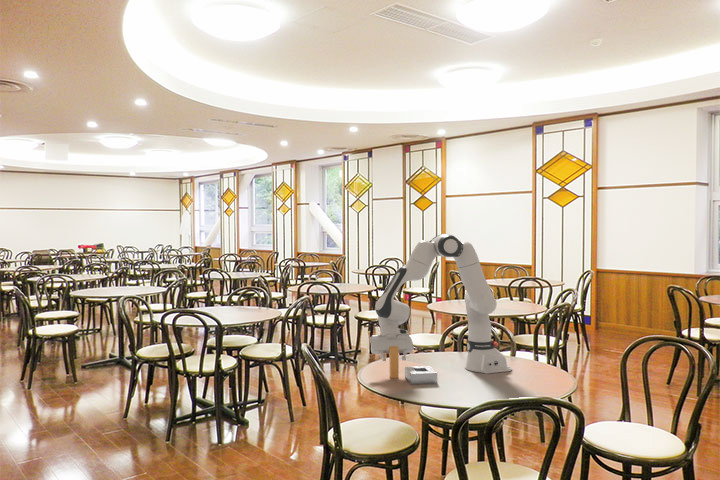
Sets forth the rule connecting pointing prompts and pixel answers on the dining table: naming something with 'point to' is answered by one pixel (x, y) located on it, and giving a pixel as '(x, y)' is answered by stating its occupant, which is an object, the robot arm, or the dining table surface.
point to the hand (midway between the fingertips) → (394, 360)
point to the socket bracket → (421, 375)
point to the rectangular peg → (394, 362)
